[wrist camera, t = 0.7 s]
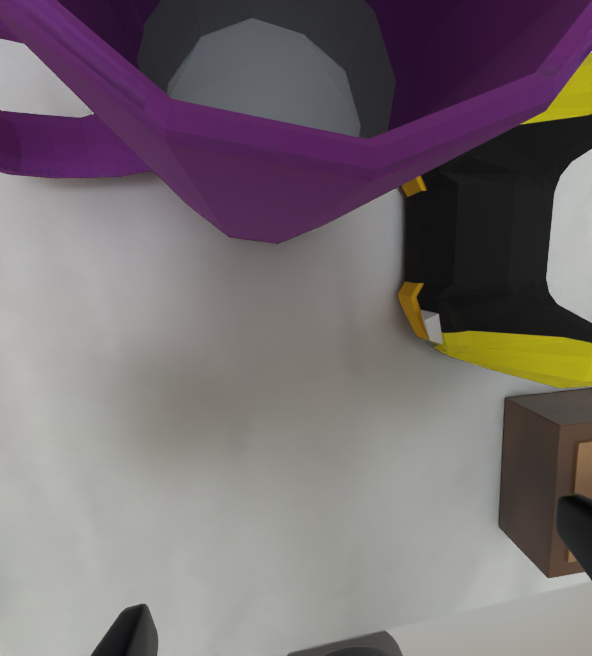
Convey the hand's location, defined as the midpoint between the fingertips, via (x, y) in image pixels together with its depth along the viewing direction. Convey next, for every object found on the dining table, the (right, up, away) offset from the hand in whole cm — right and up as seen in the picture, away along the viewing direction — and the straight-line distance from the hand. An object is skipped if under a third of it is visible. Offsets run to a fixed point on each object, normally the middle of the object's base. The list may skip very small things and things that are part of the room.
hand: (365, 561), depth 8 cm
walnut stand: (+15, -3, +16) cm, 22 cm away
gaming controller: (+9, +10, +13) cm, 18 cm away
